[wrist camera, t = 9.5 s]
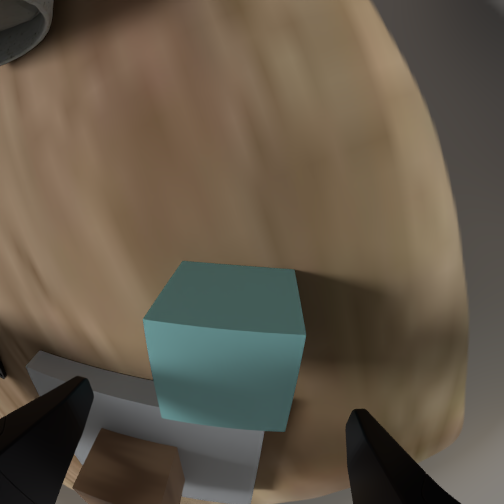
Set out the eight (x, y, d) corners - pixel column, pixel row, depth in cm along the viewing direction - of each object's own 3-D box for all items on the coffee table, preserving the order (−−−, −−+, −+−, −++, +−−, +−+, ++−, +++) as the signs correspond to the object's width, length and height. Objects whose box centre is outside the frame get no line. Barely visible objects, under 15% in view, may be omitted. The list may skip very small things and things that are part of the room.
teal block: (187, 347, 15) (162, 418, 10) (183, 260, 13) (142, 319, 9) (282, 356, 15) (284, 431, 10) (294, 268, 13) (306, 334, 9)
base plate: (91, 453, 21) (84, 468, 19) (39, 350, 16) (25, 366, 15) (251, 487, 21) (250, 505, 19) (266, 395, 16) (266, 421, 14)
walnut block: (120, 464, 18) (100, 515, 13) (101, 427, 16) (72, 487, 11) (185, 480, 18) (172, 536, 12) (177, 446, 16) (157, 517, 11)
